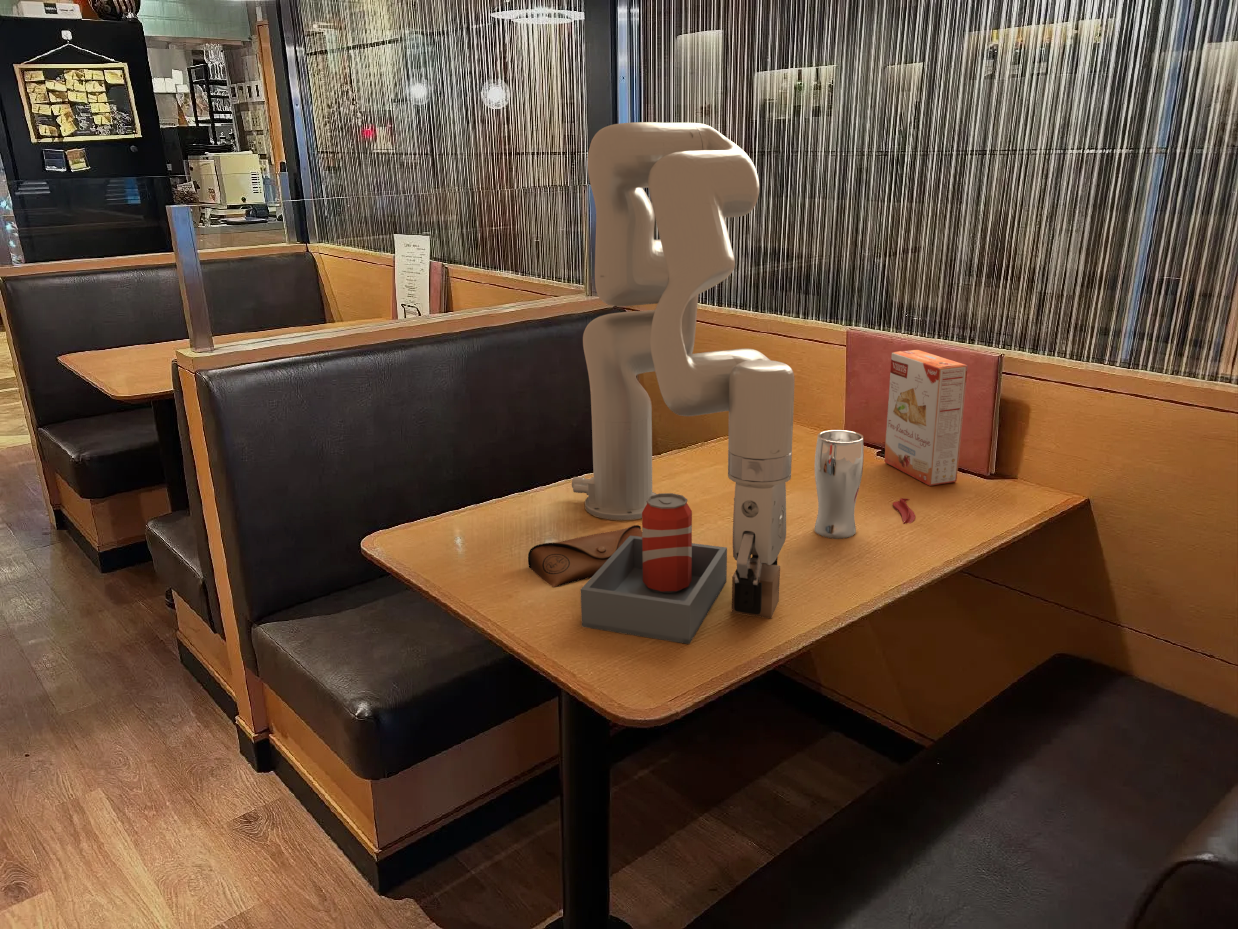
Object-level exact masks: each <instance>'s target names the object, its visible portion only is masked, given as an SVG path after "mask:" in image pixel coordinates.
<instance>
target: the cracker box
mask: <svg viewBox="0 0 1238 929" xmlns="http://www.w3.org/2000/svg"><path fill="white" fill-rule="evenodd" d="M889 371H890V373H889V374H890V375H889V389H888V404H887V405H888V406H887V416H886V429H885V430H886V432H885V447H884V450H885V451H884V459H883V460H884V463H886V464H888V465H890V466H891V467H893V468H895V469H897V470H899V471H900V472H902V473H904V474H906V475H908V476H910V477H911V478H914V479H916V480H918V481H920V482H921V483H924V484H925V485H926V486H927V485H928V486H930V487H931V486H936V485H944V484H950V483H957V480H958V470H959V459H960V450H961V449H960V448H961V439H962V428H963V417H964V408H965V398H966V397H965V395H966V386H967V378H968V376H967V375H968V365H967V364H965V363H961V362H958V361H954V360H952V359H948V358H945V357H942V356H938V355H936V354H933V353H929V352H926V351H923V350H920V349H912V350H899V351H893V352H891V356H890V370H889Z"/></svg>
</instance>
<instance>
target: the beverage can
mask: <svg viewBox="0 0 1238 929" xmlns="http://www.w3.org/2000/svg"><path fill="white" fill-rule="evenodd" d="M646 502H647V505H646V506H645V508H644V510H643V512H642V518H641V523H642V524H641V529H642V530H641V531H642V548H643V582H644V583H645V585H646V586H647V587H648V588H651V589H652V590H653V591H656V592H660V593H676V592H678V591H681V590H683V589H684V588H686V587H688V586H689V584H690V582H691V580H692V543H693V539H692V538H693V534H692V533H693V532H692V531H693V528H692V527H693V510H692V509H691V508H690V505H689V504H688V498H686V497H685V496H684V495H682V494H679V493H678V494H676V493H671V492H668V493H666V492H665V493H664V492H663V493H656V495H653V496H650V497H649V498H648V499H647V500H646Z"/></svg>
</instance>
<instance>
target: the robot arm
mask: <svg viewBox="0 0 1238 929" xmlns="http://www.w3.org/2000/svg"><path fill="white" fill-rule="evenodd" d="M587 172H588V178H589V184H590V188H591V191H592V194H593V195H592V197H593V200H594V206H595V213H596V214H595V215H596V217H595V218H596V221H595V248H594V249H595V254H594V281H595V282H594V283H595V291H596V294H597V297H598V298H599V300H600V301H602V303H604V304H606V305H609V306H613V307H630V306H633V307H634V306H642V305H643V306H644V305H655V304H656V306H655V309H649V310H634V311H624V312H614V313H613V312H612V313H607V314H603V315H599V316H598V317H596V318H594V319H593V320H591V321H590V322H589V323H588V324H587V325H586V327H585V329H584V331H583V334H582V347H583V352H584V354H583V355H584V357H585V363H586V369H587V373H588V381H589V390H590V405H591V406H590V408H591V430H592V431H591V432H592V433H591V434H592V436H591V437H592V465H593V466H592V467H593V471H592V472H593V476H592V477H591V478H585V477H580V476H579V477H578V476H573V477H572V480H571V487H572V491H573V493H575V494H576V493H577V494H586V495H587V497H586V498H585V501H584V509H585V511H586V512H587V513H589V514H590V515H592V516H594V517H597V518H600V519H604V520H611V521H630V520H631V521H632V520H640V519H642V512H643V510H644V508H645V506H646V505H647V502H646V500H647V499H648V498H649V497H650V496H653V495H656V494H657V493H656V492H655V491H653V427H652V426H653V425H652V424H653V423H652V420H653V419H652V418H653V417H652V416H653V415H652V414H653V413H652V407H653V406H652V400H651V398H650V395H649V393H648V392H647V390H646V389H645V387H643V385H642V384H641V383H640V382H639V380H638V378H637V376H638V375H640V374H645V373H650V372H651V373H653V372H655V377H656V380H657V384H658V388H659V391H660V394H661V397H662V399H663V402H664V403H665V405H666V406H667V407H668V409H669V410H670V411H671V412H672V413H674V414H675V415H678V416H681V417H682V416H683V417H695V416H701V415H708V414H714V413H715V414H716V413H722V412H728V440H727V442H728V445H727V447H728V448H727V452H728V453H727V454H728V456H727V477H728V479H729V480H731V481H732V482H734V483H735V487H734V498H733V514H732V515H733V516H732V557H733V558H734V560H735V561H736V569H735V571H736V575H735V595H734V609H735V611H737V612H744V613H751V614H760V612H761V602H762V583H760V582H759V581H760V574H761V568H762V563H763V564H767V565H778V556H779V554H780V552H781V550H782V549H783V546H784V544H785V542H786V538H787V488H786V483H788V482H789V481H791V479H792V460H793V458H792V456H793V435H794V434H793V433H794V432H793V429H794V427H793V426H794V405H795V403H794V402H795V373H794V370H793V368H792V367H791V366H789V365H788V364H786V363H785V362H781V361H777V360H771V359H770V358H769V357H767V356H766V355H765V354H764V353H762V352H761V351H759V350H758V349H757V350H756V349H753V348H735V349H728V350H727V349H726V350H715V351H714V350H713V351H705V352H697V353H693V352H694V348H695V347H694V346H695V343H696V342H695V341H696V330H697V328H696V327H697V317H698V316H697V315H698V304H699V295H700V294H702V293H704V292H706V291H707V290H710V289H711V288H714V287H715V286H717V285H719V284H720V283H722V282H723V281H724V280H726V279H727V278H728V277H729V276H730V275H731V274H732V273H733V272H734V269H735V267H736V263H735V262H736V261H735V259H736V258H735V256H734V251H733V248H732V244H731V240H730V235H729V231H728V228H727V223H726V218H738V217H743V216H746V215H748V214H749V213H750V212H752V211H753V210H754V208H755V207H756V204H757V202H758V199H759V194H760V181H759V176H758V173H757V172H758V171H757V169H756V167H755V164H754V163H753V160H752V159H751V158H750V157H749V155H748V154H747V152H745V151H744V149H742V148H741V147H740V146H739V145H737V144H736V143H735V142H733V141H732V140H730V139H729V138H728V137H726V136H725V135H723V134H722V133H721V132H720V131H718V130H716V129H715V128H713V127H712V126H710V125H708V124H705V123H700V122H699V123H698V122H653V121H651V122H650V121H645V122H641V121H640V122H639V121H638V122H635V121H634V122H622V123H621V122H620V123H614V124H611V125H607V126H605V127H603V128H600V129H599V130H598V131H597V132H596V133H595V134H594V136H593V138H592V139H591V142H590V144H589V149H588V153H587ZM646 188H648V191H649V196H650V198H649V196H648V194H647V192H646V191H645V190H644V189H646ZM655 222H656V226H657V231H658V235H659V239H655V236H654V234H655ZM750 564H751V565H756V567H755V573H754V572H753V570H752V569H750Z"/></svg>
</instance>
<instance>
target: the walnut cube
mask: <svg viewBox="0 0 1238 929" xmlns="http://www.w3.org/2000/svg"><path fill="white" fill-rule="evenodd" d="M755 567H756V565H751V564H750V569H752V570H753V572H754V573H755ZM735 575H736V570H734V573H733V575H732V576H731V577H732V578H731V614H737V615H744V616H750V617H759V618H765V619H772V617H773V615H774V614H775V610H776V609H777V606H778V604H779V602H780V580H781V578H780V577H781V565H778V564H777V565H767V564H763V563H762V568H761V574H760V581H759V582H760V583H762V602H761V612H760V614H751V613H744V612H737V611H735V609H734V595H735Z"/></svg>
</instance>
